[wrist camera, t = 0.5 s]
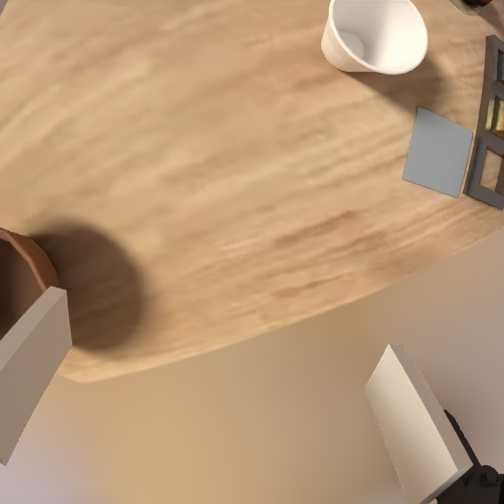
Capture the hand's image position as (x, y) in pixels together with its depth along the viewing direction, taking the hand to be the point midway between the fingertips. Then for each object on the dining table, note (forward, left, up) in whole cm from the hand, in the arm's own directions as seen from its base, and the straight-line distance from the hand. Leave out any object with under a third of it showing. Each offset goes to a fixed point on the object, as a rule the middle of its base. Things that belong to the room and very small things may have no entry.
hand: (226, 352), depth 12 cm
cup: (-21, +9, -28) cm, 36 cm away
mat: (-12, +25, -28) cm, 39 cm away
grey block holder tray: (-21, +35, -28) cm, 49 cm away
